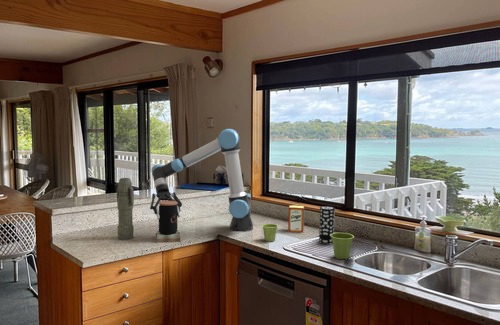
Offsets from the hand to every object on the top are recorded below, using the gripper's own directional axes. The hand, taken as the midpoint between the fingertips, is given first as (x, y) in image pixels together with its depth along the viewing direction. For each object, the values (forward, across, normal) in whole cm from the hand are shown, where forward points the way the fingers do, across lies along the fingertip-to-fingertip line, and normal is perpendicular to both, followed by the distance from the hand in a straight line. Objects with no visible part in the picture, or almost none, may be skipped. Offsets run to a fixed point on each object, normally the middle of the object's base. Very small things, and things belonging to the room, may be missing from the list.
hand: (169, 217), depth 236 cm
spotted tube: (+39, -80, +20) cm, 91 cm away
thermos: (-1, +22, -20) cm, 30 cm away
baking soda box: (+19, -79, -1) cm, 81 cm away
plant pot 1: (+27, -53, +8) cm, 60 cm away
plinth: (+7, 0, -11) cm, 14 cm away
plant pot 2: (+57, -70, +38) cm, 98 cm away
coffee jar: (+5, 0, -9) cm, 10 cm away
